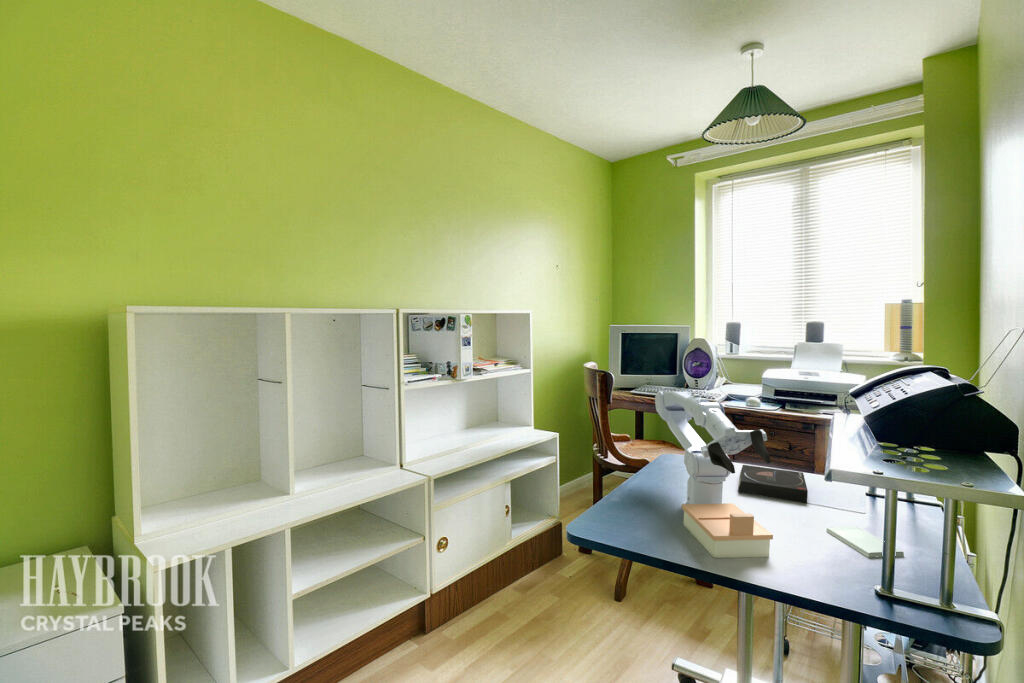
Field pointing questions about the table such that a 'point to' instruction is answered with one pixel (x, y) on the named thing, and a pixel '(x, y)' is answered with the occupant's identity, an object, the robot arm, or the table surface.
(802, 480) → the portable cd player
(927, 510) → the table surface
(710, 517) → the lid
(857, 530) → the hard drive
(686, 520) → the tub
